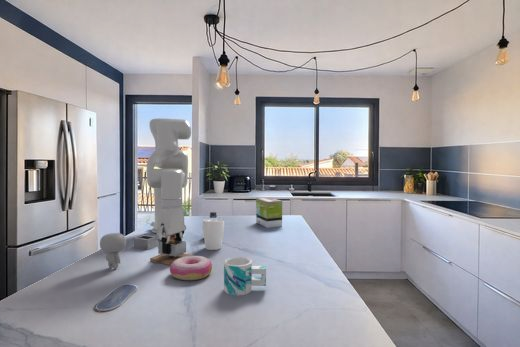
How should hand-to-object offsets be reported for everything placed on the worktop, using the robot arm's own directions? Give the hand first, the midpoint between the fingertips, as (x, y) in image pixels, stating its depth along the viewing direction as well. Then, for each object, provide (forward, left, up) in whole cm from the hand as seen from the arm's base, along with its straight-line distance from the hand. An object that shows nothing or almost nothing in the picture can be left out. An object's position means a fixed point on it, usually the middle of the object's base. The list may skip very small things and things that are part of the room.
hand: (172, 250), depth 119 cm
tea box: (+7, +74, -4) cm, 74 cm away
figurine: (-12, -16, -4) cm, 20 cm away
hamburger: (-22, +26, -4) cm, 34 cm away
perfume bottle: (-5, +35, -4) cm, 35 cm away
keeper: (0, 0, -3) cm, 3 cm away
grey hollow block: (-22, +9, -3) cm, 24 cm away
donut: (+16, -9, -4) cm, 18 cm away
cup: (+5, +20, -4) cm, 21 cm away
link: (0, 0, -1) cm, 1 cm away
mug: (+37, -12, -4) cm, 39 cm away
